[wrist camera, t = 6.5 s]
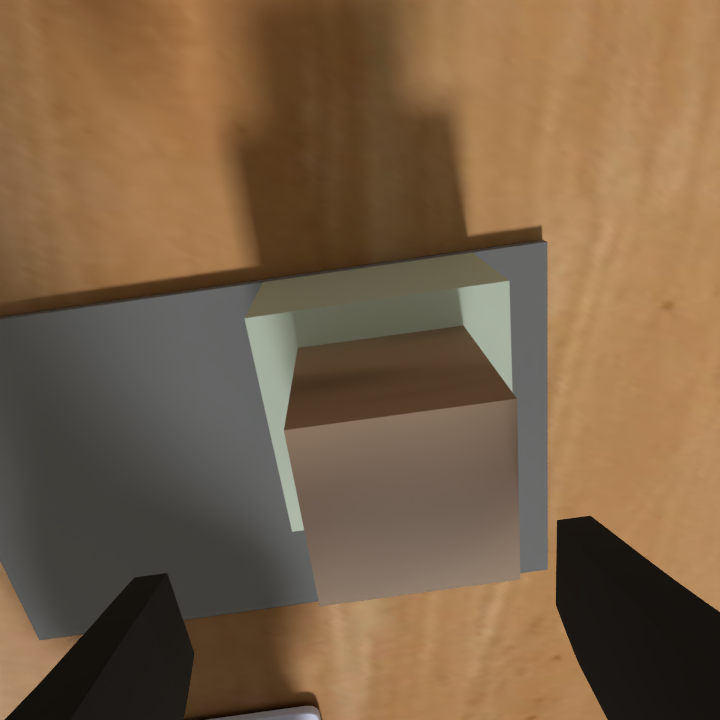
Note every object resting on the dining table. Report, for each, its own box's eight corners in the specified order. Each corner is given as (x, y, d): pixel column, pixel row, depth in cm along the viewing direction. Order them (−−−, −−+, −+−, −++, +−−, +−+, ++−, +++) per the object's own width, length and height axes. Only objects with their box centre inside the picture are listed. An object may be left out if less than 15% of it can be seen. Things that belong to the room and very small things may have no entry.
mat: (544, 562, 23) (547, 569, 23) (44, 632, 23) (39, 640, 23) (542, 239, 18) (547, 241, 18) (-102, 331, 18) (-110, 335, 18)
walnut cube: (471, 466, 16) (520, 579, 12) (323, 486, 16) (320, 606, 12) (463, 325, 14) (517, 398, 10) (297, 348, 14) (284, 430, 10)
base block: (482, 435, 20) (515, 500, 17) (299, 461, 20) (292, 532, 17) (472, 252, 18) (509, 280, 14) (262, 282, 18) (244, 318, 14)
